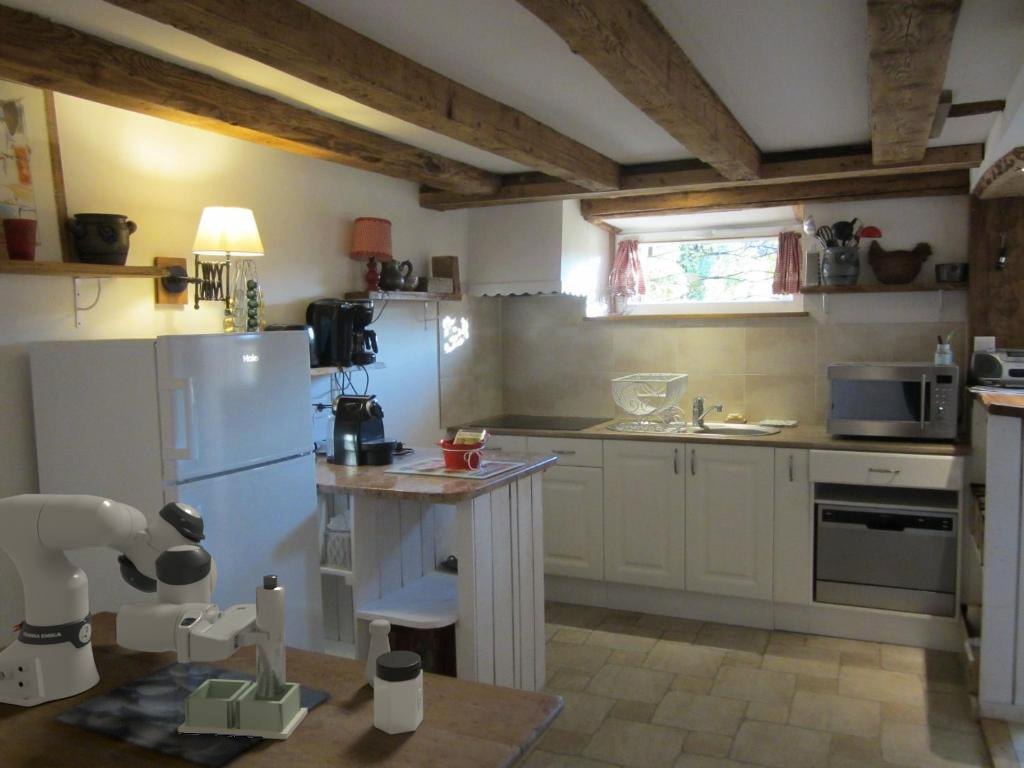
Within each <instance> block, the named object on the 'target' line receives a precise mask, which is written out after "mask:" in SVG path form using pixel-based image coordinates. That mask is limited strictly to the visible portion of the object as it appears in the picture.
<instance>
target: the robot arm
mask: <svg viewBox="0 0 1024 768" xmlns="http://www.w3.org/2000/svg"><path fill="white" fill-rule="evenodd" d="M204 529H205V525H204V519H203V517H202V515H201V514H200V513H199V511H197V510H196V509H195V508H194V507H192V506H191V505H189V504H186V503H182V502H177V501H172V502H169V503H167V504H166V505H164V506H163V507H162V508H161V510H159V511H158V515H157V516H156V517H155V518H154V519H153V520H152V522H151V523H150V524H149V525H148V523H147V518H146V516H145V515H144V514H143V512H141V511H140V510H139V509H137V508H135V507H134V506H131V505H129V504H127V503H122V502H119V501H115V500H113V499H111V498H106V497H102V496H98V495H92V494H71V493H70V494H66V493H65V494H63V493H62V494H60V493H59V494H58V493H57V494H55V493H52V494H51V493H50V494H49V493H48V494H47V493H46V494H45V493H23V494H18V495H12V496H8V497H4V498H3V497H2V498H0V548H1V549H2V550H3V551H4V552H5V553H6V554H7V556H9V558H10V559H11V561H12V562H13V564H14V565H15V567H16V569H17V571H18V574H19V576H20V578H21V582H22V586H23V596H24V604H25V605H24V609H25V619H24V620H22V621H21V622H20V623H18V624H16V625H15V626H12V629H14V630H13V631H12V633H16V632H18V631H19V630H20V631H19V634H18V635H17V639H16V640H14V641H13V642H11V644H9V645H8V646H6V648H5V649H3V650H2V651H1V652H0V703H5V704H11V705H14V706H15V705H17V706H21V707H33V706H36V705H40V704H43V703H46V702H50V701H55V700H56V701H57V700H60V699H64V698H65V699H66V698H68V697H72V696H76V695H78V694H82V693H83V692H85V691H88V690H90V689H91V688H93V687H94V686H96V685H97V684H98V683H99V681H100V675H99V673H98V669H97V667H96V664H95V660H94V658H95V657H94V653H93V649H92V632H93V630H92V628H93V627H92V626H93V625H92V624H93V623H92V622H93V621H92V613H91V611H90V610H89V609H90V607H89V603H90V602H89V580H88V576H87V574H86V572H85V571H84V570H83V569H82V568H80V567H78V566H77V565H76V564H74V563H72V562H71V561H70V560H69V558H67V556H66V554H65V553H64V551H73V552H74V551H76V552H77V551H78V552H80V551H81V552H86V551H87V552H118V553H119V552H120V553H122V554H119V555H118V556H117V562H118V564H119V571H120V575H121V577H122V578H123V581H124V582H126V583H127V584H128V585H129V587H131V588H132V589H135V590H137V591H139V592H143V593H147V594H153V593H156V601H152V602H151V601H148V602H146V601H145V602H136V603H134V602H133V603H127V604H123V605H122V606H121V607H120V608H119V611H118V612H117V614H116V618H115V620H114V638H115V639H114V640H115V641H116V644H117V645H118V646H119V647H120V648H124V649H127V650H128V649H129V650H133V651H139V652H147V653H148V652H149V653H163V652H164V653H165V652H168V651H171V652H175V653H176V655H177V663H179V664H188V663H191V662H202V663H203V662H204V663H205V662H207V663H208V662H209V663H210V662H219V661H224V660H227V659H228V658H229V657H231V656H232V655H233V654H234V653H236V652H237V651H238V650H239V649H240V648H242V647H250V646H254V645H256V644H266V643H267V642H268V641H269V640H270V637H269V636H270V633H269V632H268V631H265V632H264V631H260V632H258V633H256V603H241V604H234V605H232V606H231V605H230V607H229V608H227V609H225V610H224V611H223V610H222V611H221V610H220V608H219V605H217V604H215V603H211V595H213V593H214V591H215V589H216V586H217V582H218V568H217V564H216V562H215V560H214V557H212V555H211V554H210V553H209V552H208V551H207V550H206V549H205V548H204V546H203V545H201V544H200V543H201V540H202V541H205V539H206V536H205V534H204Z"/></svg>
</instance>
